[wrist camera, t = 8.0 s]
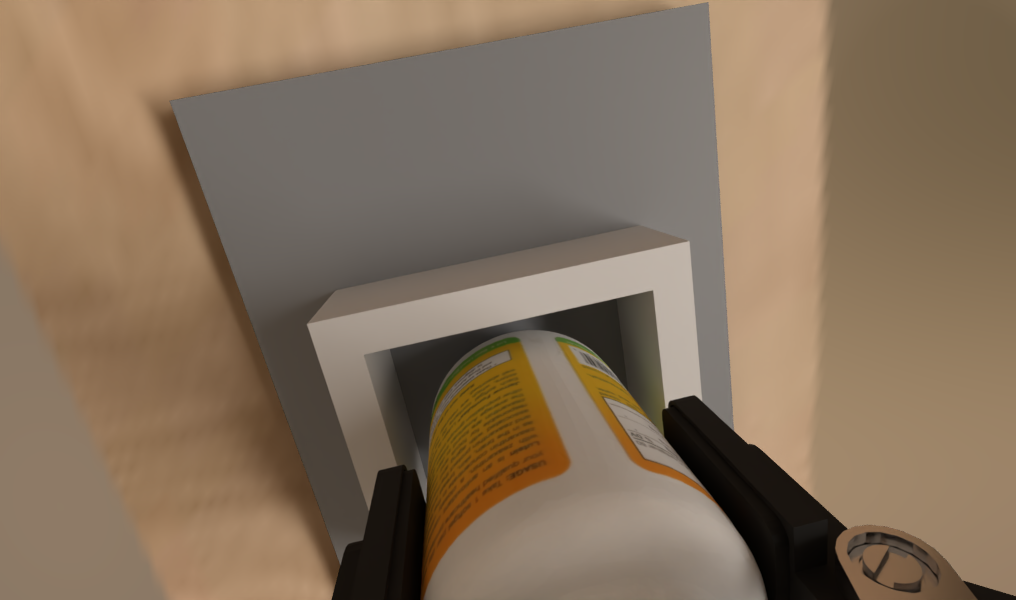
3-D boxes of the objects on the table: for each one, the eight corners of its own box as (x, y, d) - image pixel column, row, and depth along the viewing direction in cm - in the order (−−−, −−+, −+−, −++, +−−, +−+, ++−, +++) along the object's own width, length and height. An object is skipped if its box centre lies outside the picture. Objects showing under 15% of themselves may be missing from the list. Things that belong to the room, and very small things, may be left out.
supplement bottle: (429, 497, 14) (399, 1127, 5) (431, 323, 13) (396, 755, 4) (606, 491, 15) (868, 1031, 6) (627, 326, 14) (1026, 689, 4)
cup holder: (190, 105, 13) (82, 81, 9) (690, 13, 14) (783, -44, 10) (385, 652, 19) (370, 778, 15) (728, 561, 20) (796, 658, 16)
